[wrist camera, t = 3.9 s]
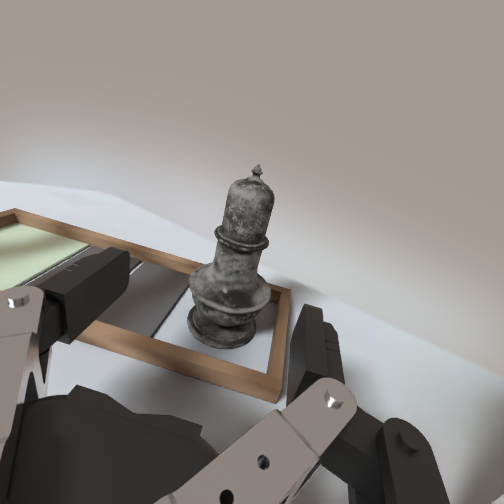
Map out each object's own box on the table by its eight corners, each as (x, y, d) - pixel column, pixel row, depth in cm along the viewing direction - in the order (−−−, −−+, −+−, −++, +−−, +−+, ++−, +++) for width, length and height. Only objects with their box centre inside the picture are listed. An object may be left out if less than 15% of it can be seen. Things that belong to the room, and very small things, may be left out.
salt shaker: (222, 289, 25) (252, 152, 20) (274, 327, 22) (325, 179, 17) (166, 315, 21) (185, 148, 15) (221, 367, 18) (268, 183, 12)
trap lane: (287, 300, 26) (290, 289, 25) (275, 403, 16) (281, 390, 16) (16, 219, 27) (14, 208, 27) (-137, 271, 18) (-145, 255, 17)
